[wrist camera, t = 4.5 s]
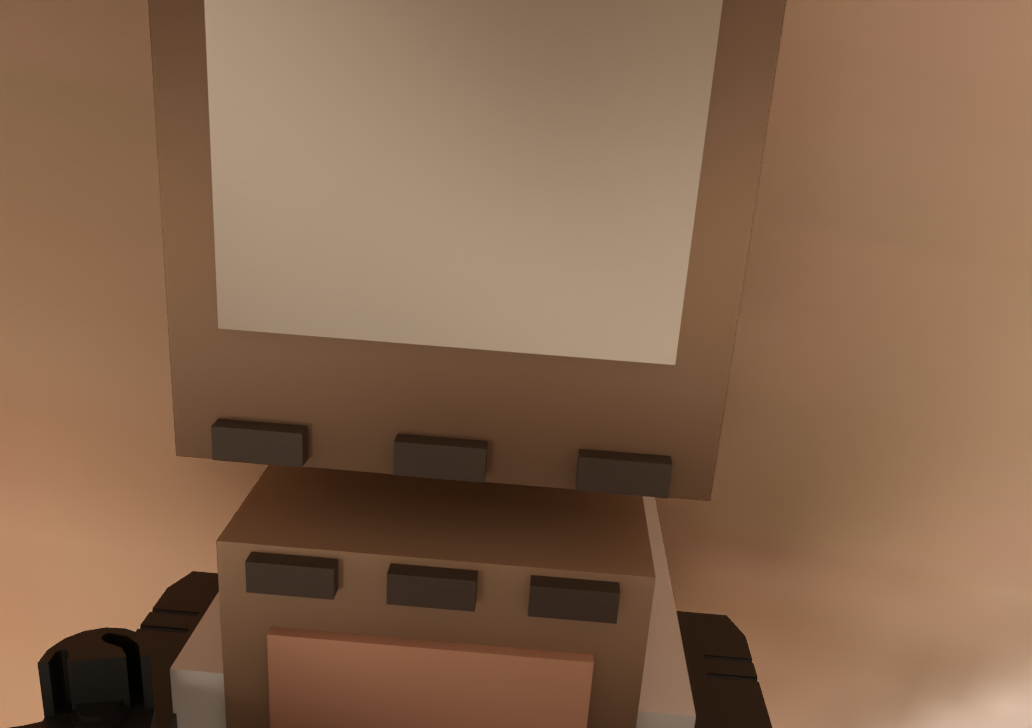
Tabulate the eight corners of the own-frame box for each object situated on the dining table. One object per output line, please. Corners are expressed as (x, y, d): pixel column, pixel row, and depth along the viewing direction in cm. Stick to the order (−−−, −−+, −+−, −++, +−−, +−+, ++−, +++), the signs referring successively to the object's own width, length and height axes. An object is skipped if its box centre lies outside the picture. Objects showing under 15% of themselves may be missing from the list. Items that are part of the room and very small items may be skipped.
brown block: (351, 346, 17) (209, 551, 10) (621, 366, 17) (657, 588, 10) (350, 620, 19) (230, 942, 12) (591, 641, 19) (606, 978, 12)
